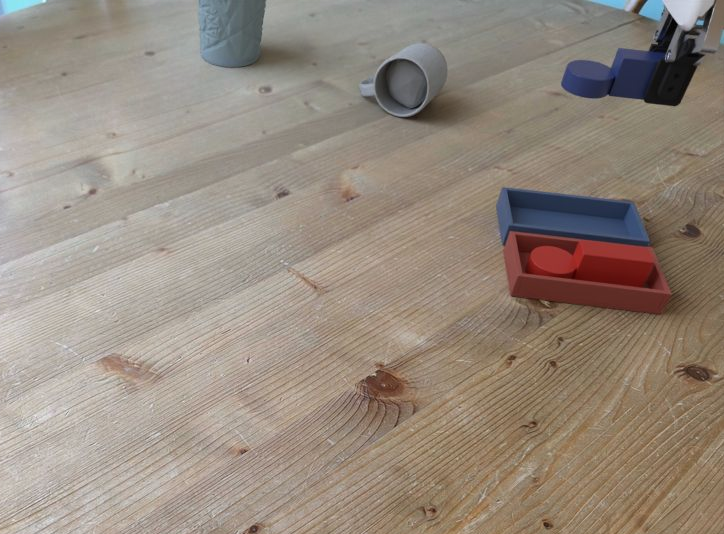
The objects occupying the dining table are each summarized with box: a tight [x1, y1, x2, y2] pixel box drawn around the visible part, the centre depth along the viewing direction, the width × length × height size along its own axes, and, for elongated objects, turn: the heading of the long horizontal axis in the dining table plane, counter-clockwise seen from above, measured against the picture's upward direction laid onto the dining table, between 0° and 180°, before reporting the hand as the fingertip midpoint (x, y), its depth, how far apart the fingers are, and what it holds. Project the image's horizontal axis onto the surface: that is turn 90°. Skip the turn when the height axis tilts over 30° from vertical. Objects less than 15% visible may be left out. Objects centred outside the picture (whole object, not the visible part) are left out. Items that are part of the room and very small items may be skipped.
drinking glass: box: [197, 0, 267, 68], centre depth 104 cm, size 10×10×12 cm
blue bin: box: [495, 186, 651, 247], centre depth 79 cm, size 14×7×2 cm, turn 82°
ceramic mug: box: [358, 42, 449, 118], centre depth 97 cm, size 11×8×8 cm
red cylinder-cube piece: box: [526, 240, 655, 288], centre depth 72 cm, size 11×4×4 cm, turn 82°
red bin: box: [503, 231, 673, 315], centre depth 73 cm, size 14×7×2 cm, turn 82°
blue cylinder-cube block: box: [560, 47, 698, 104], centre depth 69 cm, size 11×4×4 cm, turn 82°
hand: (656, 94), depth 70 cm, fingers closed on blue cylinder-cube block, 2 cm apart
